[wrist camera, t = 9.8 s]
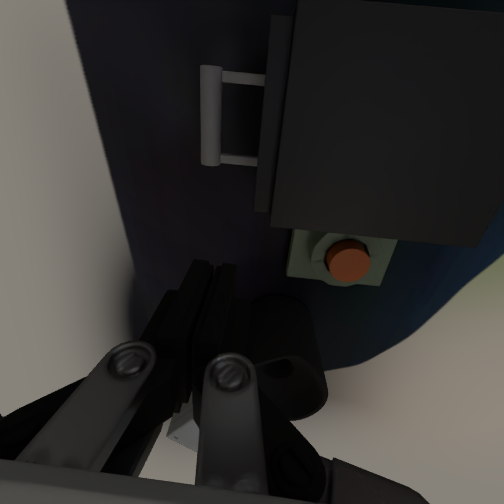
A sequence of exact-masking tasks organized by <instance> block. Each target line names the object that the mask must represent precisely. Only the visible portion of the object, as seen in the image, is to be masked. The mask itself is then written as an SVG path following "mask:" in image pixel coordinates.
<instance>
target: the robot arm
mask: <svg viewBox="0 0 504 504" xmlns="http://www.w3.org/2000/svg"><path fill="white" fill-rule="evenodd" d="M213 270H214V267H213V265H209V261H205V260H197V259H194V260H193V262H192V264H191V266H190V268H189V270H188V272H187V274H186V276H185V278H184V280H183V282H182V284H181V286H180V288H179V290H178V291H177V290H167V292H166V293H165V295H164V297H163V298H162V300H161V302H160V304H159V306H158V307H157V309H156V311H155V313H154V314H153V316H152V318H151V320H150V322H149V323H148V325H147V327H146V329H145V330H144V332H143V334H142V336H141V338H140V339H139V341H138V340H135V341H128V342H125V343H121V344H119V345H117V346H116V347H114V348H112V349H111V350H110V351H109V352H108V353H107V354H106V355H105V356H104V357H103V359H102V360H101V361H100V362H99V363H98V364H97V365H96V367H95V368H94V369H93V370H92V371H91V372H90V373H89V375H88V376H87V377H84V378H82V379H80V380H78V381H76V382H74V383H72V384H69V385H67V386H65V387H63V388H61V389H59V390H57V391H55V392H53V393H51V394H48V395H46V396H44V397H42V398H40V399H38V400H36V401H34V402H32V403H30V404H27V405H25V406H23V407H21V408H19V409H17V410H15V411H14V412H12V413H10V414H9V415H7V416H5V417H2V416H1V414H0V504H429V503H428V502H427V501H426V500H425V499H424V498H423V497H422V496H421V495H420V494H419V493H418V492H416V491H414V490H412V489H411V488H409V487H407V486H405V485H402V484H400V483H397V482H395V481H392V480H390V479H387V478H385V477H382V476H380V475H377V474H374V473H372V472H369V471H367V470H364V469H362V468H359V467H357V466H354V465H352V464H349V463H347V462H344V461H342V460H339V459H337V458H333V460H329V459H327V458H324V457H322V456H319V454H318V453H317V451H316V450H315V448H314V447H313V446H312V445H311V444H310V443H309V442H308V441H307V440H306V438H305V437H303V435H302V434H301V433H300V432H299V431H298V430H297V429H296V427H295V426H294V425H293V424H292V423H291V422H290V421H289V420H288V419H287V417H286V416H285V415H284V414H283V413H282V412H281V411H280V410H279V409H278V408H277V406H276V405H275V404H274V403H273V402H272V401H271V400H270V399H269V398H268V397H267V395H266V394H265V393H264V392H263V391H262V390H261V389H260V388H259V387H258V386H257V376H256V371H255V367H254V365H253V364H252V362H251V361H250V360H249V359H248V358H246V357H245V354H246V346H247V337H248V328H249V319H250V311H251V302H252V300H249V299H241V298H234V296H235V284H236V272H237V264H229V263H223V264H222V266H217V267H216V270H215V273H214V276H213ZM191 392H192V404H193V420H194V421H195V423H196V425H197V426H198V428H199V441H198V454H197V465H196V477H195V485H191V484H183V483H176V482H169V481H162V480H154V479H147V478H140V477H138V476H139V474H140V472H141V470H142V468H143V466H144V464H145V462H146V460H147V458H148V456H149V454H150V452H151V450H152V448H153V446H154V444H155V442H156V439H157V438H158V436H159V434H160V432H161V429H162V426H163V422H165V421H166V420H168V419H169V418H171V417H172V416H173V413H180V410H181V406H182V403H187V404H188V402H189V399H190V396H191Z"/></svg>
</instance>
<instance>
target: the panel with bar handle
mask: <svg viewBox="0 0 504 504" xmlns="http://www.w3.org/2000/svg"><path fill="white" fill-rule="evenodd" d="M294 20H295V17H294V16H284V15H273V14H272V15H271V17H270V29H269V40H268V51H267V62H266V73H265V75H263V74H252V73H242V72H231V71H223V68H222V67H219V66H212V65H200V108H201V164H203V165H206V166H218V165H220V163H227V164H237V165H247V166H257V174H256V185H255V196H254V207H253V211H256V212H265V213H271V206H272V198H273V190H274V182H275V174H276V166H277V158H278V150H279V141H280V133H281V125H282V117H283V109H284V101H285V93H286V85H287V77H288V69H289V61H290V53H291V45H292V37H293V29H294ZM222 82H226V83H237V84H247V85H258V86H264V95H263V107H262V118H261V129H260V140H259V151H258V157H257V156H247V155H236V154H226V153H221V116H222Z"/></svg>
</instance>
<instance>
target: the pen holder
mask: <svg viewBox="0 0 504 504" xmlns="http://www.w3.org/2000/svg"><path fill="white" fill-rule="evenodd" d="M245 357H246V358H248V359H249V360H250V361H251V362H252V364H253V365H254V367H255V371H256V376H257V386H258V387H259V388H260V389H261V390H262V391H263V392H264V393H265V394H266V395H267V397H268V398H269V399H270V400H271V401H272V402H273V403H274V404H275V405H276V406H277V408H278V409H279V410H280V411H281V412H282V413H283V414H284V415H285V416H286V417H287V419H288V420H289V421H295V420H301V419H304V418H307V417H309V416H311V415H313V414H315V413H316V412H318V411H319V410H320V409H321V408H322V407H323V406H324V405H325V402H326V401H327V398H328V388H327V383H326V379H325V374H324V370H323V366H322V361H321V357H320V352H319V348H318V343H317V339H316V334H315V330H314V326H313V322H312V318H311V315H310V313H309V311H308V310H307V308H306V307H305V306H304V305H303V304H301V303H300V302H298V301H297V300H295V299H292V298H289V297H286V296H268V297H264V298H261V299H259V300H257V301H255V302H254V303H252V304H251V311H250V319H249V328H248V337H247V346H246V354H245Z"/></svg>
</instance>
